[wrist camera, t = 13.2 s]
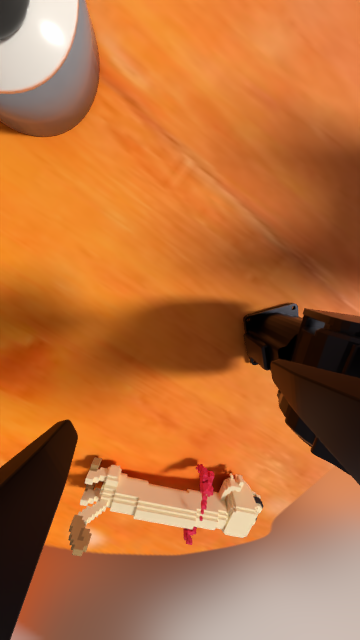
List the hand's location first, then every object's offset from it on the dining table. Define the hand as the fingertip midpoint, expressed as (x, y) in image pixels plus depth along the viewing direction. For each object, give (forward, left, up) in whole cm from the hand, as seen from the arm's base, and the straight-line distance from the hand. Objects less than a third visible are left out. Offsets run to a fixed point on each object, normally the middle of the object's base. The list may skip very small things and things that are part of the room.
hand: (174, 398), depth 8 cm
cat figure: (+5, +24, -13) cm, 28 cm away
